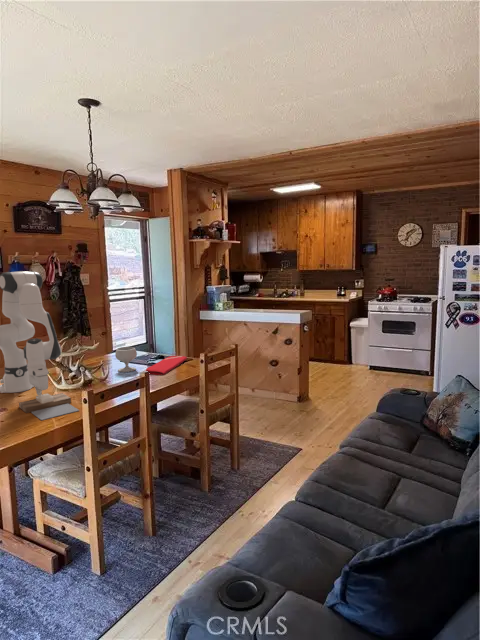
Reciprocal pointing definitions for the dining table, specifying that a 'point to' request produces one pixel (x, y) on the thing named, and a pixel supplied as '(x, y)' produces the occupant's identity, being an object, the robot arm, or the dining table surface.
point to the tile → (44, 398)
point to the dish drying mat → (166, 365)
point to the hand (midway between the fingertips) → (39, 394)
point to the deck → (36, 405)
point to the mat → (54, 411)
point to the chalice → (126, 357)
